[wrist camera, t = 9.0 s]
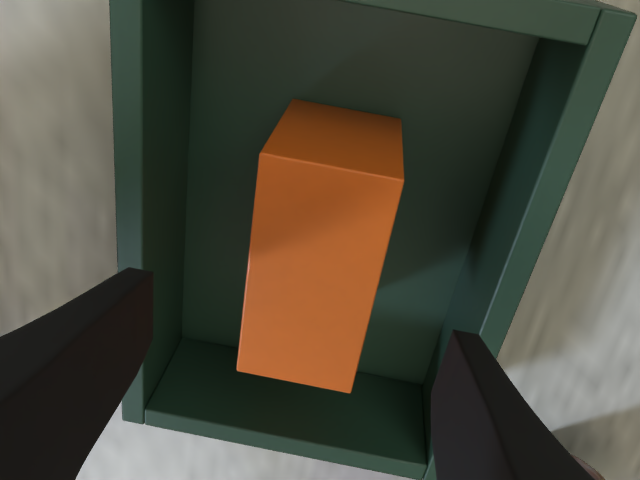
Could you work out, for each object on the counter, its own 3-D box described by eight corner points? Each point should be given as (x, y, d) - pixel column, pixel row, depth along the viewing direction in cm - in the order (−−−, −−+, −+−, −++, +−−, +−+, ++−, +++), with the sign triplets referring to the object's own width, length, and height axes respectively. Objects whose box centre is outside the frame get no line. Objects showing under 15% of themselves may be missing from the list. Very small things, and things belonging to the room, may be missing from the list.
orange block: (268, 280, 21) (235, 371, 17) (292, 97, 17) (258, 152, 13) (359, 298, 21) (351, 394, 16) (401, 118, 17) (404, 179, 13)
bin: (166, 340, 24) (121, 420, 20) (175, -79, 16) (105, -83, 12) (436, 393, 23) (444, 486, 19) (577, -6, 16) (640, 14, 12)
